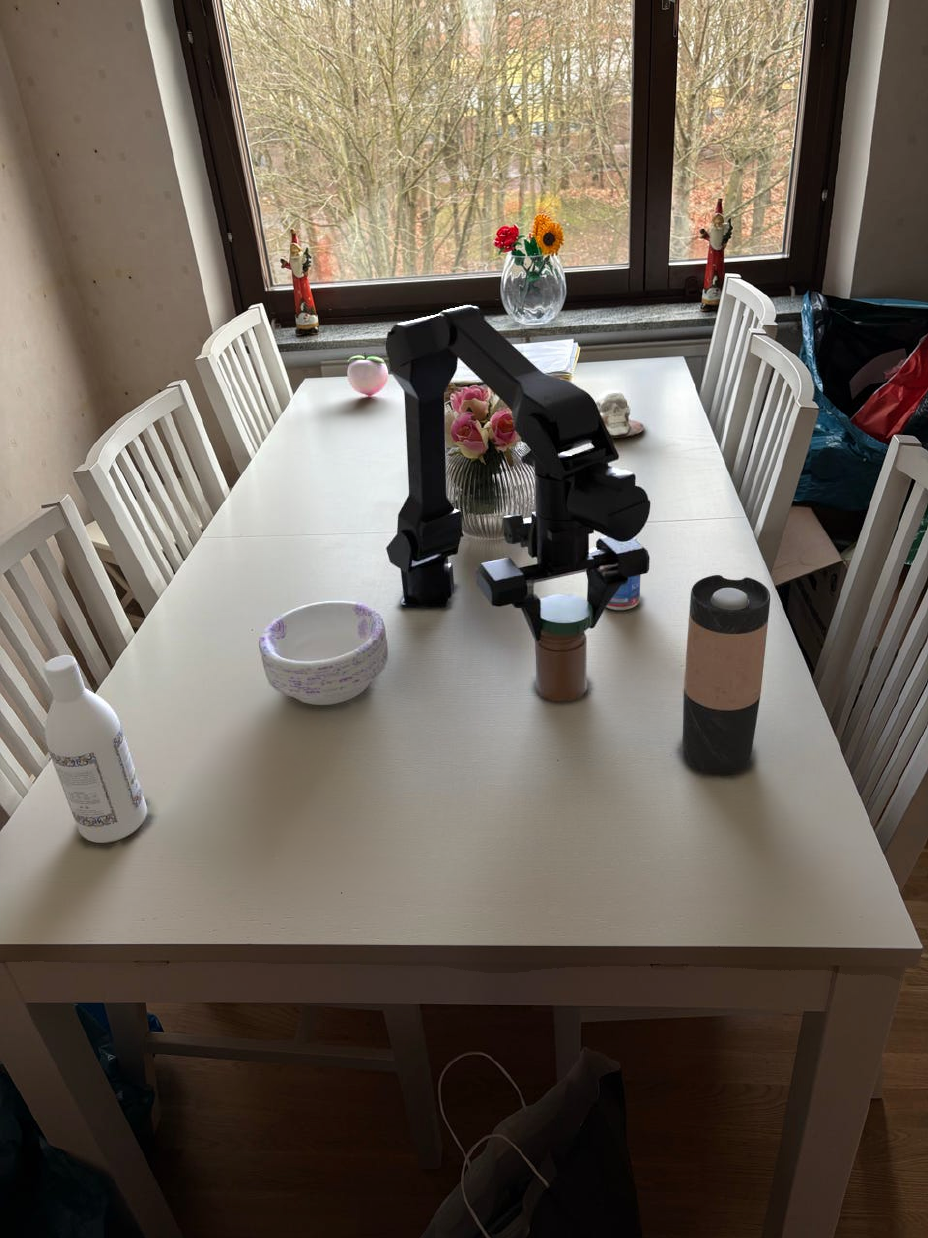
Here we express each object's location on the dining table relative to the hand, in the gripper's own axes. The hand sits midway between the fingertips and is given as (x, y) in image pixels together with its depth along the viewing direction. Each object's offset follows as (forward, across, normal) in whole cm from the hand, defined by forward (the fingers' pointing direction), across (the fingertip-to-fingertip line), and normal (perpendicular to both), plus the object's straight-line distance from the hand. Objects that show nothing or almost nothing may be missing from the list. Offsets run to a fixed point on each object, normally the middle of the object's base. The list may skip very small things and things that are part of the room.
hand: (564, 633), depth 110 cm
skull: (+8, -43, -76) cm, 88 cm away
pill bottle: (+8, -15, -16) cm, 23 cm away
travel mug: (+8, -10, +18) cm, 22 cm away
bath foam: (+8, +52, +3) cm, 53 cm away
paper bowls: (+8, +26, -13) cm, 30 cm away
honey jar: (+8, 0, 0) cm, 8 cm away
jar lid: (-3, 0, 0) cm, 3 cm away
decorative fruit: (+8, -5, -122) cm, 122 cm away
